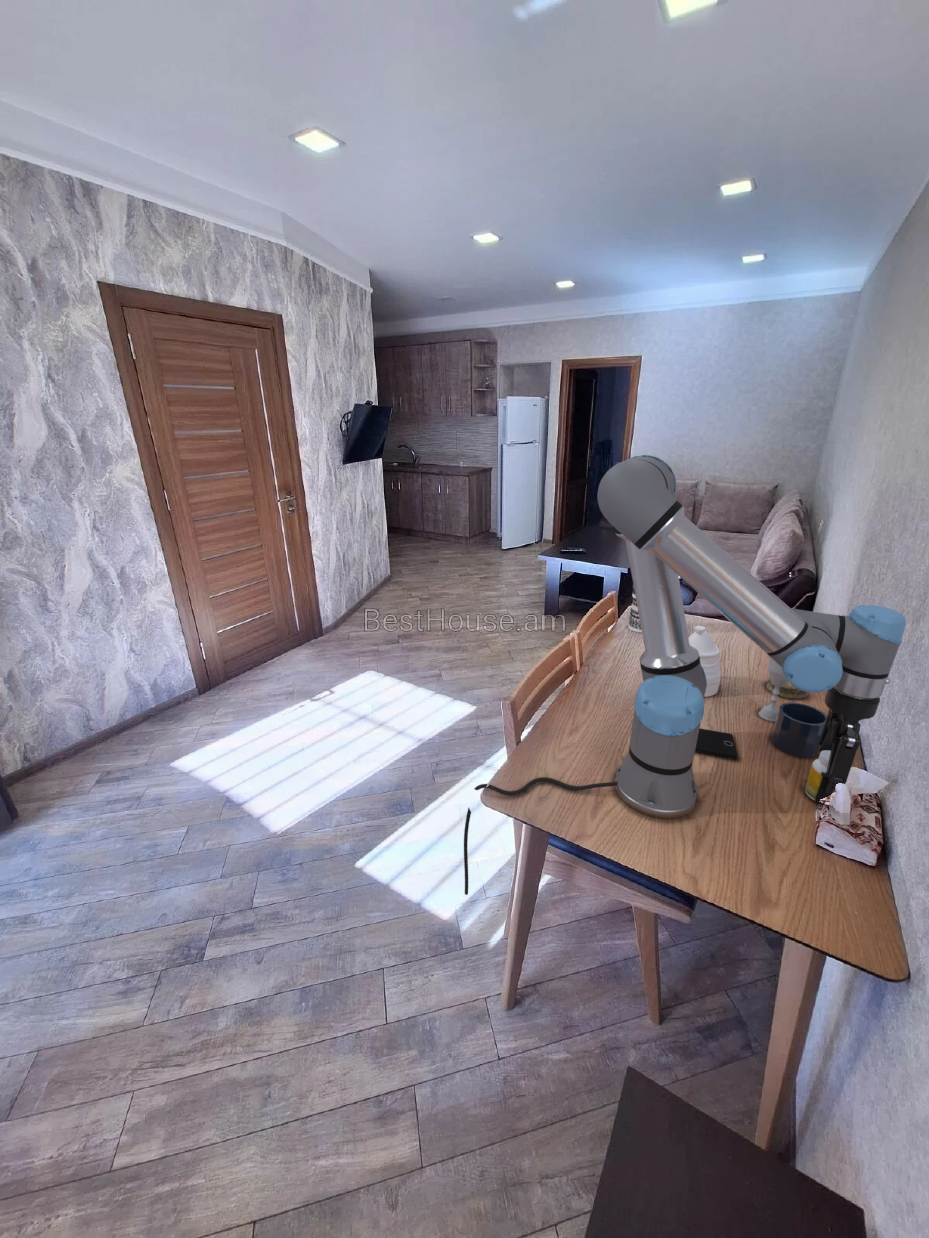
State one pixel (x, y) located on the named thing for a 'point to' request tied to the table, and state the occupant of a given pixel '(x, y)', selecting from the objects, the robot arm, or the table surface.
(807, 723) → the cup
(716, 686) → the honey pot
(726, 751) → the cell phone
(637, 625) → the decorative candle
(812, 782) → the supplement bottle
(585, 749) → the table surface
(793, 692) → the cake
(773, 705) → the chalice
